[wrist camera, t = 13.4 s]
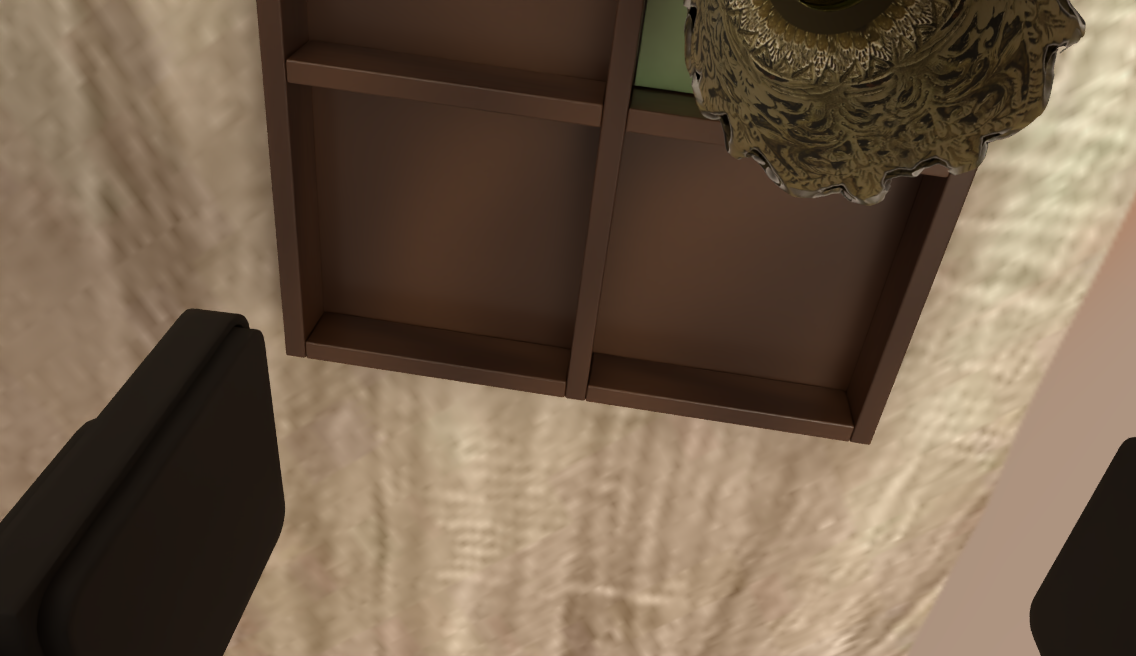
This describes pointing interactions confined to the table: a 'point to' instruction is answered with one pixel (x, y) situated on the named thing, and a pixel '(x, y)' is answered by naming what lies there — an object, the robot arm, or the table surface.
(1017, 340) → the table surface
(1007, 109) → the cup
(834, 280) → the grid
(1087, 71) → the table surface
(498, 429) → the table surface
